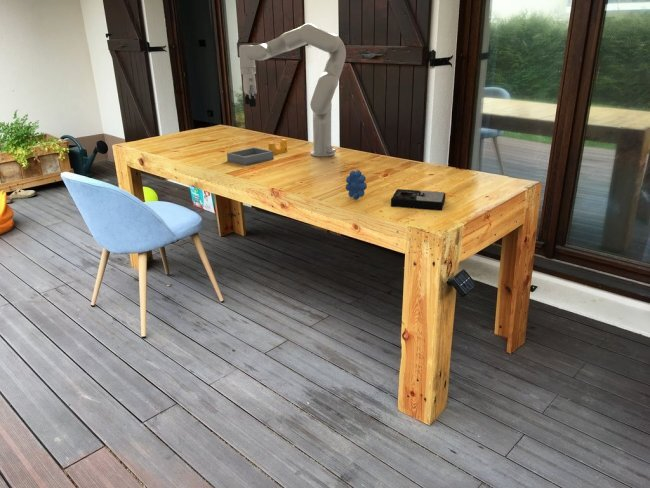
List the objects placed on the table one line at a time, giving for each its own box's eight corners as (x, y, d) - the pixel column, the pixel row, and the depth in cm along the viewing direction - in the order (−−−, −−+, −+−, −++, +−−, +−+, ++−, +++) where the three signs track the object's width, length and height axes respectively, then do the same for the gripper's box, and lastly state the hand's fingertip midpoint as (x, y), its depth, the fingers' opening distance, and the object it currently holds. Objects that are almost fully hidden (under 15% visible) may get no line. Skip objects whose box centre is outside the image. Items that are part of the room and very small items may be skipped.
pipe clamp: (281, 150, 292) (280, 138, 289) (287, 151, 290) (286, 139, 287) (266, 154, 283) (265, 142, 281) (272, 155, 281) (272, 143, 278)
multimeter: (396, 197, 211) (396, 185, 209) (445, 201, 206) (446, 188, 204) (390, 207, 200) (390, 195, 198) (442, 212, 195) (443, 199, 193)
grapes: (374, 200, 206) (374, 170, 202) (360, 204, 203) (361, 173, 198) (354, 193, 215) (354, 164, 210) (341, 197, 211) (341, 167, 207)
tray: (273, 159, 273) (273, 151, 271) (246, 165, 261) (245, 157, 259) (254, 154, 282) (254, 147, 281) (227, 160, 270) (226, 153, 269)
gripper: (259, 71, 262) (261, 107, 269) (251, 69, 277) (253, 102, 284) (244, 72, 260) (247, 108, 266) (237, 70, 275) (240, 103, 281)
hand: (250, 105), depth 275 cm, fingers open, 9 cm apart
